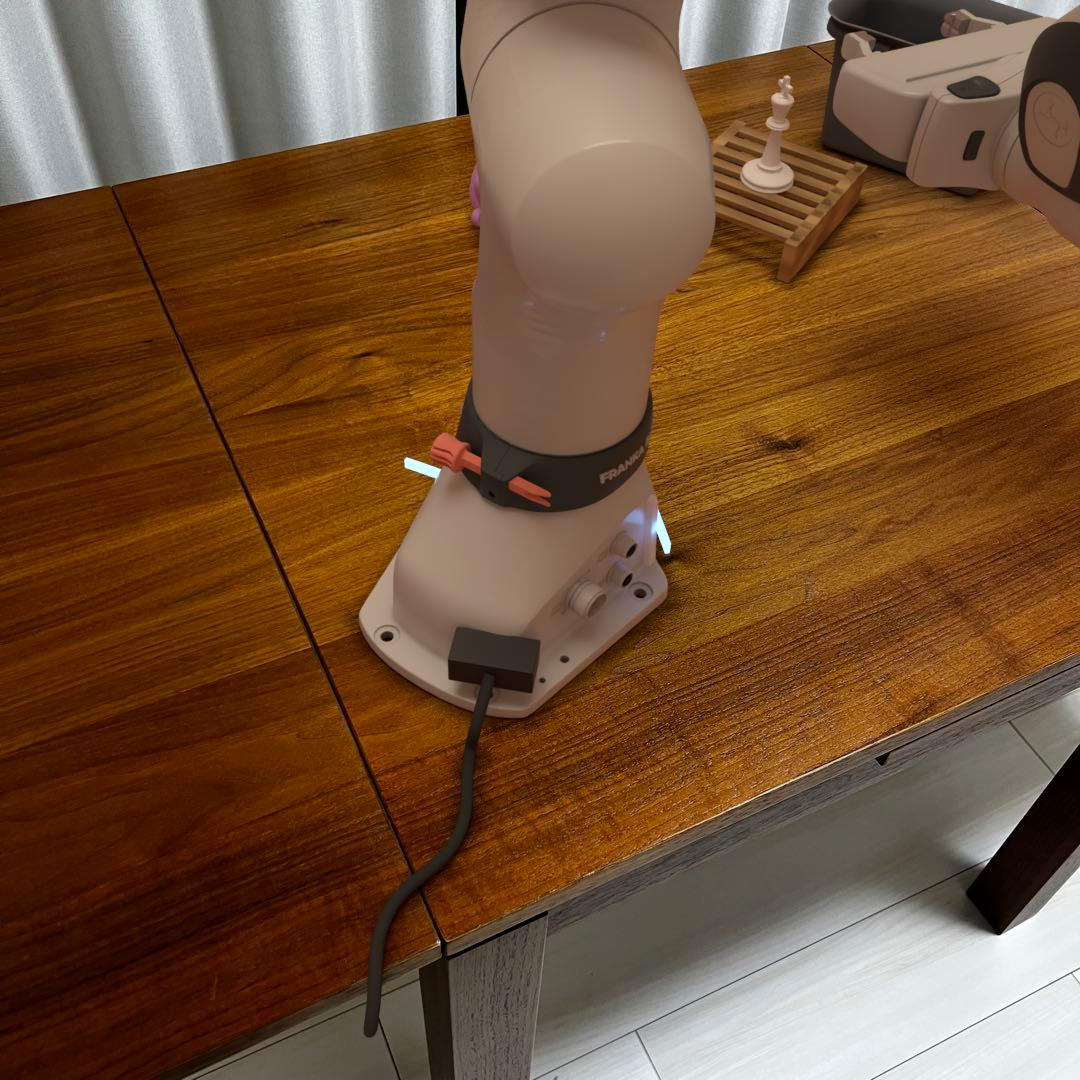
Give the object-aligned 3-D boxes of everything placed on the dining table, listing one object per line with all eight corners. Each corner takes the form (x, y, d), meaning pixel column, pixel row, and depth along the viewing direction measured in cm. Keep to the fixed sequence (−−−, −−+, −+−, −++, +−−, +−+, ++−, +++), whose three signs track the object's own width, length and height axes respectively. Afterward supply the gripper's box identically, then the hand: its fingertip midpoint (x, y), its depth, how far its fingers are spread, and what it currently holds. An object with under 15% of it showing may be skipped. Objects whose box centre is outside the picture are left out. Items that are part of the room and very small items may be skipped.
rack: (788, 284, 107) (797, 246, 104) (652, 230, 112) (657, 193, 109) (858, 202, 116) (868, 165, 113) (730, 155, 121) (736, 119, 118)
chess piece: (758, 198, 109) (778, 95, 101) (730, 170, 111) (748, 68, 104) (803, 187, 110) (826, 85, 103) (774, 160, 113) (795, 58, 105)
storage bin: (1031, 159, 122) (1084, 22, 111) (983, 231, 113) (1036, 90, 103) (838, 97, 129) (870, -38, 118) (779, 161, 120) (808, 22, 110)
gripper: (1158, 48, 82) (1021, -34, 90) (926, 105, 76) (800, 11, 83) (1120, 132, 87) (993, 47, 95) (899, 192, 80) (781, 95, 88)
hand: (901, 30), depth 89 cm, fingers open, 8 cm apart
